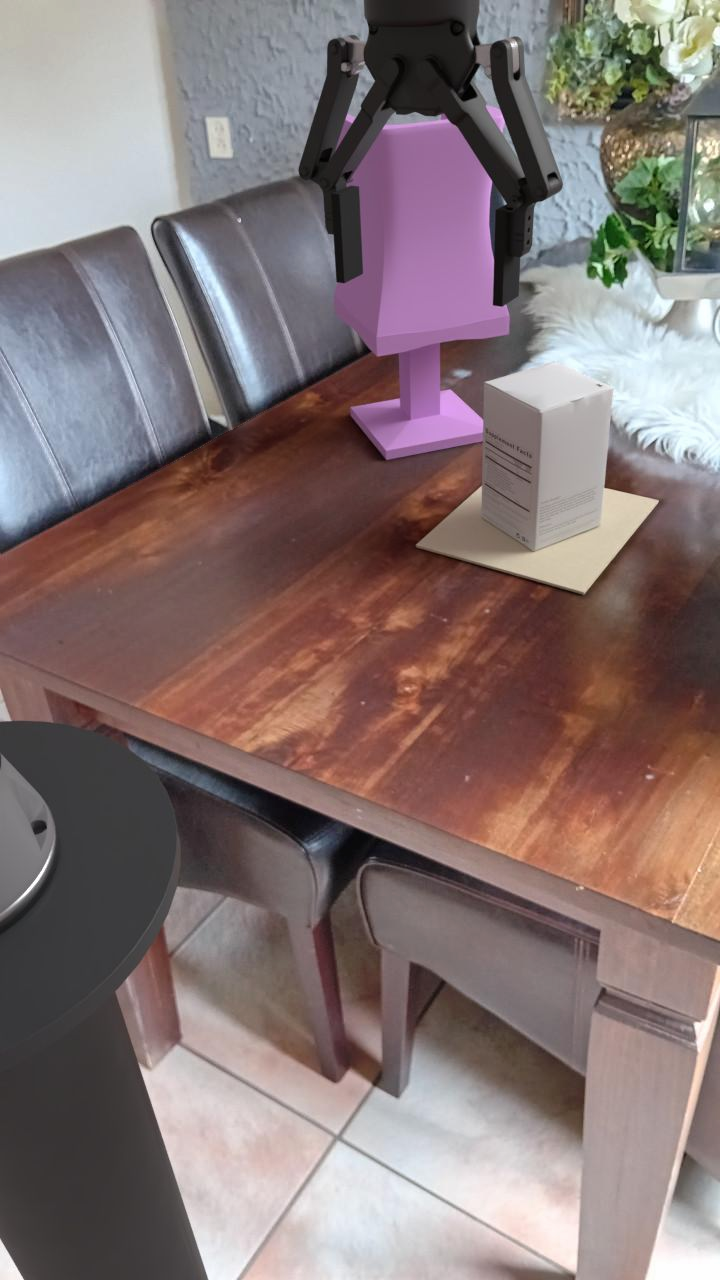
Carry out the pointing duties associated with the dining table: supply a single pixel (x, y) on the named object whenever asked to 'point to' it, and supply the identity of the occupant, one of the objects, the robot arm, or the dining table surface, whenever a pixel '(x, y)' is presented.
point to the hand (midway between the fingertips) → (424, 289)
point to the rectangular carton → (545, 453)
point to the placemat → (553, 565)
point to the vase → (421, 278)
